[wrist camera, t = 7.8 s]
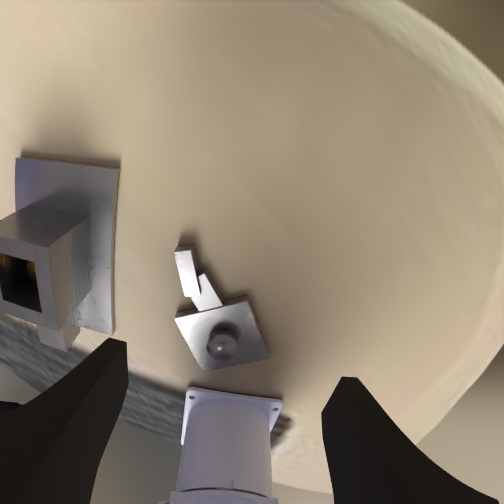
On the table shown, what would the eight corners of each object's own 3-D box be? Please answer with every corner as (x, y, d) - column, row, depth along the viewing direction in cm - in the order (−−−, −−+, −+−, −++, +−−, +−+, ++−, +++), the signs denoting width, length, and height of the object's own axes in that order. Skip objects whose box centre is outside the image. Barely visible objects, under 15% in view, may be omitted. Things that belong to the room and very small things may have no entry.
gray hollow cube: (92, 288, 20) (58, 331, 15) (33, 273, 19) (-5, 309, 15) (90, 215, 18) (47, 247, 13) (28, 205, 17) (-19, 231, 13)
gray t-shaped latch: (268, 350, 22) (269, 367, 21) (203, 364, 23) (201, 380, 21) (224, 231, 19) (221, 242, 17) (149, 254, 19) (140, 266, 18)
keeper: (115, 335, 22) (98, 367, 19) (31, 310, 21) (9, 335, 18) (119, 167, 17) (92, 180, 14) (20, 156, 16) (-13, 166, 13)
